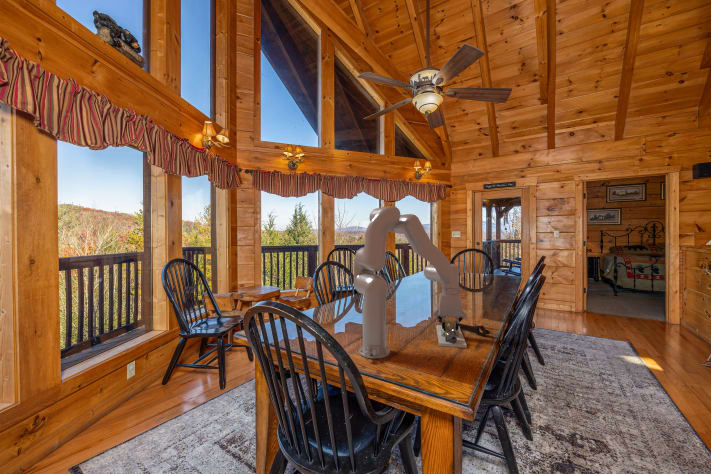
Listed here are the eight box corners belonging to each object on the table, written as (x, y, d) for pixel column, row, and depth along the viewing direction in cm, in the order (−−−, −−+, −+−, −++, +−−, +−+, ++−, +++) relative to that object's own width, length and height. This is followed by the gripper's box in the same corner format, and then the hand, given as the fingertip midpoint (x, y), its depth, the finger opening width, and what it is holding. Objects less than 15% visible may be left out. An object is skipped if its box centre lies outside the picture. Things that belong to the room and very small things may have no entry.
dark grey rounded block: (450, 338, 128) (450, 328, 128) (458, 340, 125) (458, 330, 125) (444, 342, 123) (444, 331, 123) (452, 344, 121) (452, 333, 121)
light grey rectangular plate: (466, 347, 120) (466, 342, 120) (439, 345, 123) (439, 340, 123) (459, 328, 144) (459, 324, 144) (436, 327, 146) (436, 322, 146)
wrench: (444, 323, 159) (494, 336, 133) (438, 325, 156) (488, 339, 130) (444, 314, 159) (493, 325, 133) (437, 316, 156) (486, 327, 130)
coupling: (456, 334, 129) (456, 322, 128) (445, 333, 130) (445, 321, 129) (454, 329, 135) (454, 317, 135) (444, 328, 136) (444, 317, 136)
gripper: (468, 290, 134) (468, 329, 134) (430, 288, 137) (430, 327, 138) (470, 293, 126) (470, 335, 127) (431, 292, 130) (431, 332, 131)
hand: (450, 330), depth 132 cm, fingers closed on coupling, 4 cm apart
